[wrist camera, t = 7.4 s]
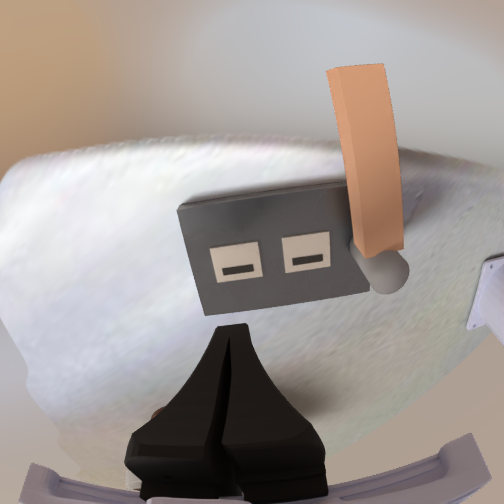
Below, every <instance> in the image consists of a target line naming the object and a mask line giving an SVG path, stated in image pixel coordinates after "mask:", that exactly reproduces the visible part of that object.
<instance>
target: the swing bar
mask: <svg viewBox="0 0 504 504" xmlns="http://www.w3.org/2000/svg"><path fill="white" fill-rule="evenodd" d="M326 73H327V78H328V81H329V87H330V91H331V96H332V100H333V105H334V110H335V115H336V120H337V125H338V131H339V136H340V142H341V148H342V154H343V160H344V166H345V173H346V179H347V187H348V194H349V202H350V210H351V218H352V227H353V237H352V239H351V242H350V252H351V255H352V256H353V258H354V259H355V261H356V262H357V264H358V265H359V267H360V269H361V270H362V272H363V273H364V275H365V276H366V278H367V280H368V281H369V283H370V284H371V286H372V288H373V289H374V290H375V291H376V292H377V293H379V294H385V295H386V294H391V293H394V292H396V291H397V290H399V289H400V288H401V287H402V286H403V285H404V284H405V282H406V281H407V279H408V276H409V265H408V263H407V262H406V261H405V259H404V258H403V257H402V256H401V255H400V254H399V253H398V252H397V251H398V250H402V249H404V238H403V206H402V189H401V176H400V165H399V155H398V146H397V138H396V131H395V124H394V117H393V110H392V104H391V99H390V93H389V88H388V83H387V78H386V73H385V68H384V64H367V65H354V66H344V67H336V68H333V69H331V70H328V71H326Z"/></svg>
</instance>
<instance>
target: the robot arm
mask: <svg viewBox="0 0 504 504" xmlns="http://www.w3.org/2000/svg"><path fill="white" fill-rule="evenodd" d="M483 325H487V326H488V327H489V328H490V330H491V331H492V332H493V333H494V334H495V336H496V337H497V338H498V339H499V341H500V342H501V343H502V345H503V346H504V256H502V257H498V258H494V259H490V260H487V261H485V262H484V264H483V267H482V271H481V276H480V280H479V284H478V288H477V291H476V295H475V299H474V302H473V306H472V309H471V312H470V316H469V319H468V322H467V325H466V328H467V330H472V329H475V328H478V327H480V326H483ZM324 462H325V448H324V445H323V443H322V441H321V439H320V437H319V435H318V434H317V432H316V431H315V429H314V428H313V426H312V424H311V423H310V422H309V421H308V420H306V419H305V418H304V417H303V416H302V415H301V414H300V413H299V412H298V411H297V410H296V409H295V408H294V407H293V406H292V405H291V404H290V403H289V402H288V401H287V400H286V398H285V397H284V396H283V395H282V394H281V393H280V391H279V390H278V389H277V387H276V386H275V385H274V383H273V382H272V380H271V379H270V378H269V376H268V374H267V373H266V371H265V369H264V368H263V366H262V364H261V362H260V360H259V358H258V356H257V354H256V352H255V350H254V348H253V345H252V342H251V337H250V332H249V327H248V325H247V324H246V323H242V324H234V325H226V326H218V327H217V328H216V329H215V331H214V334H213V336H212V338H211V340H210V343H209V345H208V347H207V349H206V351H205V352H204V354H203V356H202V358H201V360H200V362H199V363H198V365H197V367H196V368H195V370H194V371H193V373H192V374H191V376H190V377H189V379H188V380H187V382H186V383H185V384H184V386H183V387H182V388H181V390H180V391H179V392H178V393H177V394H176V395H175V397H174V398H173V399H172V400H171V401H170V402H169V403H168V404H167V405H166V406H165V407H164V408H163V409H162V410H161V411H160V412H159V413H158V414H157V415H156V416H155V417H154V418H152V419H151V420H150V421H149V422H147V423H146V424H145V425H143V426H142V427H141V428H139V429H138V430H136V431H135V432H134V433H132V436H131V438H130V441H129V444H128V447H127V451H126V456H125V460H124V463H125V466H126V467H127V468H128V469H129V470H130V471H131V472H132V473H133V474H134V475H135V476H136V477H138V478H139V479H140V480H141V481H142V483H141V489H140V492H135V491H127V490H121V489H115V488H109V487H104V486H99V485H94V484H89V483H84V482H80V481H76V480H72V479H68V478H64V477H61V476H59V474H57V473H56V472H55V471H54V470H52V469H50V468H48V467H45V466H42V465H38V464H35V463H31V465H30V468H29V470H28V474H27V476H26V479H25V482H24V485H23V489H22V491H21V495H20V498H19V503H20V504H459V503H461V502H463V501H465V500H466V499H468V498H469V497H471V496H472V495H473V494H475V493H476V492H477V491H478V490H479V489H481V488H482V487H483V486H485V485H486V484H487V483H488V482H489V481H490V480H491V479H492V477H491V474H490V472H489V470H488V468H487V466H486V463H485V461H484V458H483V456H482V454H481V452H480V450H479V448H478V445H477V443H476V441H475V439H474V437H473V435H472V433H468V434H466V435H464V436H462V437H460V438H457V439H455V440H453V441H450V442H449V443H447V444H445V445H444V446H443V447H442V448H441V449H440V451H439V453H438V454H435V455H433V456H430V457H428V458H425V459H422V460H420V461H417V462H414V463H411V464H408V465H406V466H402V467H399V468H396V469H393V470H390V471H387V472H383V473H380V474H376V475H373V476H369V477H365V478H361V479H358V480H353V481H349V482H344V483H340V484H335V485H330V486H328V485H327V479H326V469H325V464H324ZM242 492H243V494H244V496H243V495H242Z"/></svg>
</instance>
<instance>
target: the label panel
mask: <svg viewBox="0 0 504 504" xmlns="http://www.w3.org/2000/svg"><path fill="white" fill-rule="evenodd" d="M177 214H178V218H179V222H180V226H181V230H182V234H183V238H184V242H185V246H186V250H187V253H188V257H189V261H190V265H191V268H192V272H193V276H194V279H195V283H196V287H197V290H198V294H199V297H200V301H201V304H202V308H203V311H204V314H205V316H208V315H217V314H225V313H233V312H241V311H249V310H256V309H264V308H271V307H278V306H284V305H291V304H298V303H304V302H310V301H316V300H323V299H329V298H334V297H340V296H346V295H352V294H357V293H363V292H368V291H369V290H370V283H369V281H368V280H367V278H366V276H365V275H364V273H363V272H362V270H361V269H360V267H359V265H358V264H357V262H356V261H355V259H354V258H353V256H352V255H351V252H350V242H351V239H352V237H353V227H352V218H351V210H350V202H349V194H348V187H347V181H345V182H336V183H327V184H318V185H310V186H302V187H294V188H286V189H279V190H272V191H264V192H258V193H251V194H244V195H238V196H231V197H225V198H219V199H213V200H207V201H201V202H195V203H189V204H183V205H179V207H178V209H177Z"/></svg>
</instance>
